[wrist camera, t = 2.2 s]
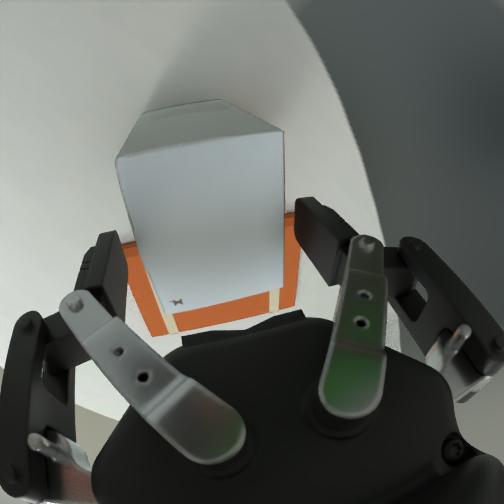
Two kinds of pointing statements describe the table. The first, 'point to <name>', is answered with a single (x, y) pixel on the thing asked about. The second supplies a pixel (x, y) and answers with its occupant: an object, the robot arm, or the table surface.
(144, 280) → the towel
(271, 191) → the small box
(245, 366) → the robot arm
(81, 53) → the table surface
